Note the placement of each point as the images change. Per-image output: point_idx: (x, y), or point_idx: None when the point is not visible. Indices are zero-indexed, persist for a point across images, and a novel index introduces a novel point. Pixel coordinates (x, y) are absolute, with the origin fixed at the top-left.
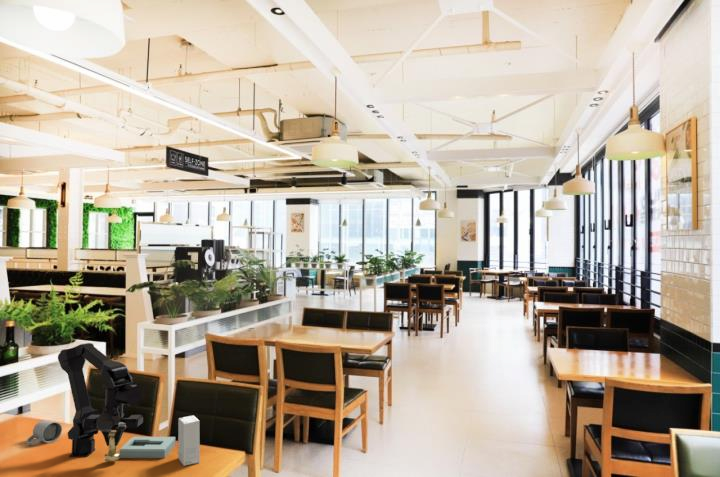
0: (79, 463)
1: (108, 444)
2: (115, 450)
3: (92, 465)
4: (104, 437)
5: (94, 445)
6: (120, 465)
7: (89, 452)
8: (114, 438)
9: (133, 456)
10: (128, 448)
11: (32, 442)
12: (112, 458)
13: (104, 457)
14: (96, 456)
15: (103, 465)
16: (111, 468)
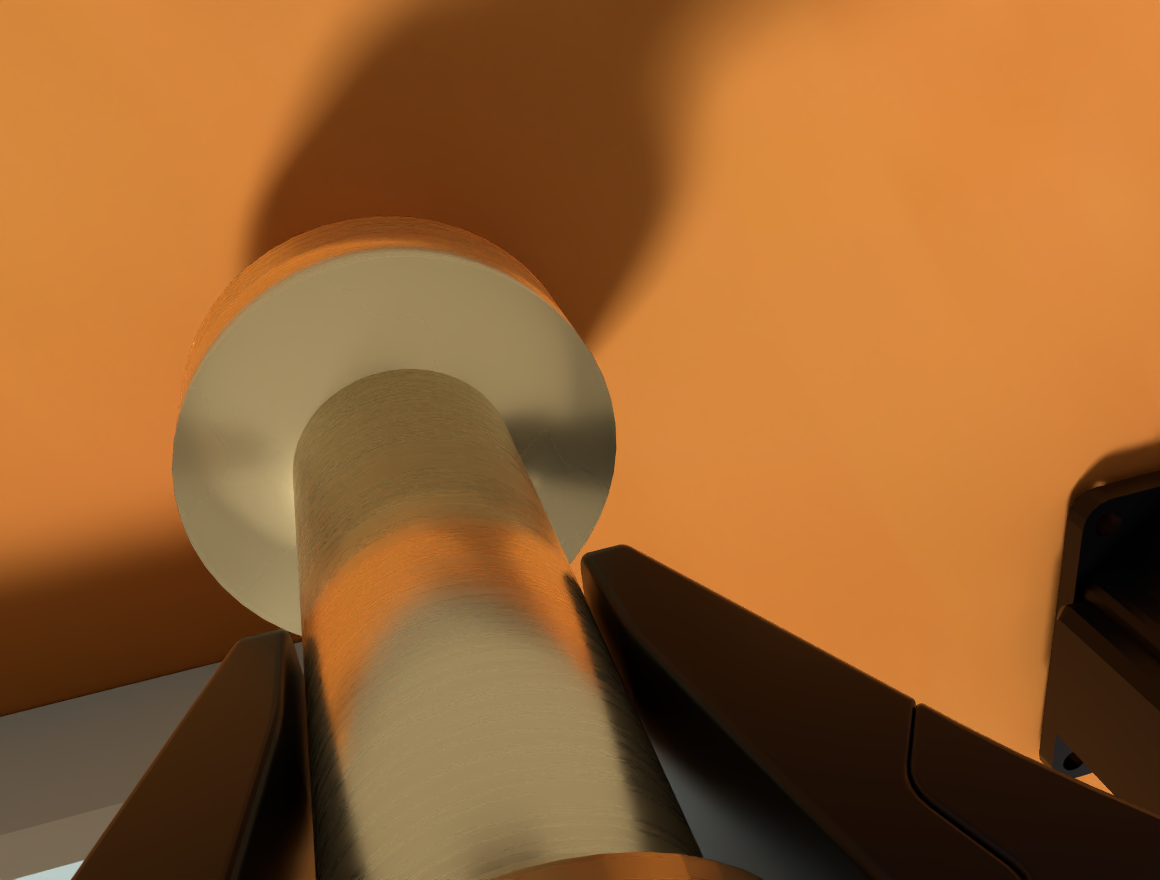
0: (1096, 179)
1: (593, 590)
2: (297, 544)
3: (765, 129)
4: (894, 706)
5: (1106, 778)
6: (17, 270)
7: (1090, 602)
8: (347, 845)
9: (22, 736)
10: None
11: None
12: (257, 287)
13: (561, 311)
14: (900, 557)
15: (492, 181)
16: (128, 29)
